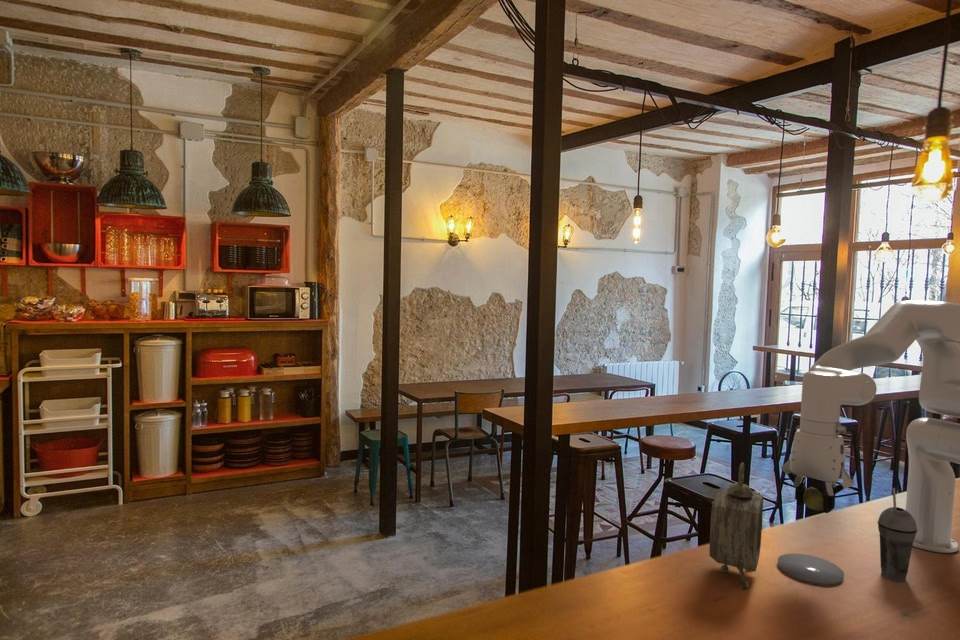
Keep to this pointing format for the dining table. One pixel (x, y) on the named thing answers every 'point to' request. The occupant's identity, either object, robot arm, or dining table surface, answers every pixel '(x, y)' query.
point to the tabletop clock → (736, 527)
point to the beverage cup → (896, 541)
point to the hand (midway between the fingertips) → (814, 506)
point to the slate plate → (810, 569)
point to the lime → (813, 499)
